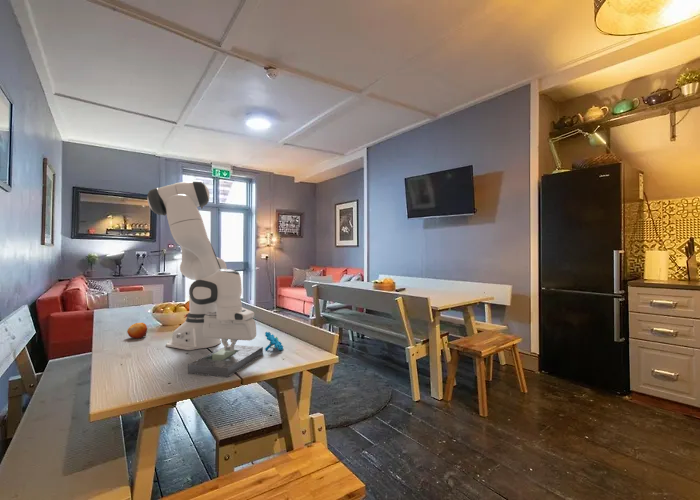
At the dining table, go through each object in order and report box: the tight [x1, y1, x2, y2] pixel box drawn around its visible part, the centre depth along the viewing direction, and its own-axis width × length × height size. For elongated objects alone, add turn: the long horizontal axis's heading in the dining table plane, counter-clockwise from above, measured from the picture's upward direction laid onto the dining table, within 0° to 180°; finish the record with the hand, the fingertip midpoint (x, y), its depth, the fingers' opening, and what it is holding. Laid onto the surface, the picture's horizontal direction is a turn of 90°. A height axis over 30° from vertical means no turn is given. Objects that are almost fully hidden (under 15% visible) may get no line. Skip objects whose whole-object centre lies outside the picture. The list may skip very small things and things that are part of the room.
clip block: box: [212, 349, 236, 361], centre depth 124 cm, size 4×7×5 cm
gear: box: [264, 331, 284, 351], centre depth 140 cm, size 11×6×10 cm
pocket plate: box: [187, 344, 264, 378], centre depth 123 cm, size 15×24×3 cm, turn 167°
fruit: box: [126, 322, 148, 340], centre depth 160 cm, size 8×8×8 cm
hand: (229, 350), depth 123 cm, fingers closed
